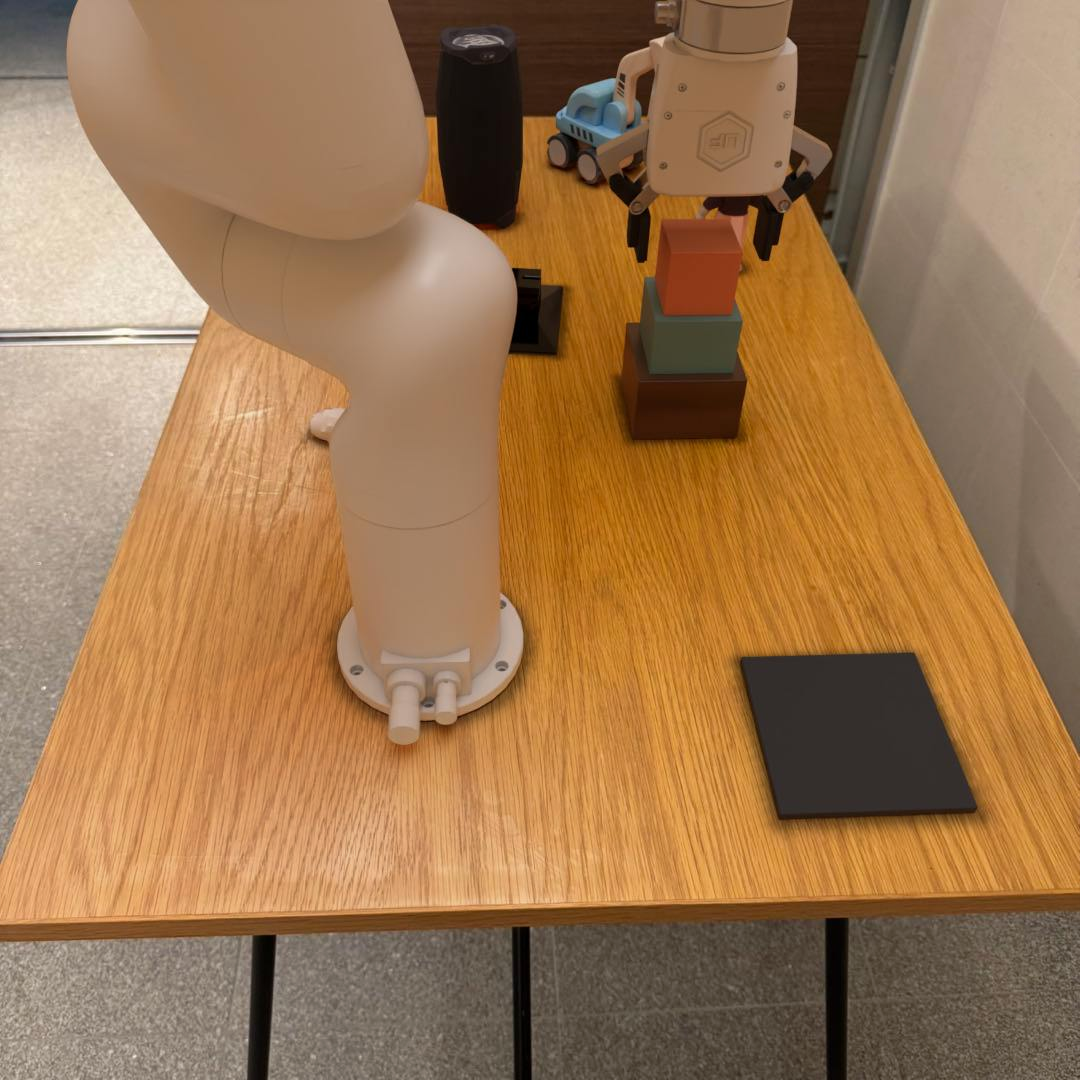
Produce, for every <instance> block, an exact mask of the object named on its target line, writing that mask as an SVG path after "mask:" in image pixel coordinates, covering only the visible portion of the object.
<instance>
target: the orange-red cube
mask: <svg viewBox="0 0 1080 1080" xmlns="http://www.w3.org/2000/svg"><path fill="white" fill-rule="evenodd" d="M659 230H660V231H659V237H658V246H657V255H656V262H655V263H656V264H655V273H654V277H655V284H656V288H657V292H658V296H659V300H660V303H661V307H662V311H663V315H664V316H703V315H732V311H733V306H734V300H736V293H737V287H738V284H739V283H738V282H739V277H740V272H741V271H740V265H742V258H743V254H744V253H743V249H741V247H740V244H739V242H738V239H737V237H736V234H735V232H734V229H733V227H732V224H731V222H730V219H714V218H705V219H695V218H667V219H666V218H665V219H664V218H663V219H661V220H660V227H659ZM739 271H740V272H739Z"/></svg>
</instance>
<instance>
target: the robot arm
mask: <svg viewBox="0 0 1080 1080" xmlns="http://www.w3.org/2000/svg"><path fill="white" fill-rule="evenodd" d="M793 2H794V0H666V1H665V0H663V1H662V0H660V1H655V3H654V14H653V15H654V24H656V25H657V24H658V25H659V24H665V26H666V27H671V30H672V31H673V32H670V33H668V34H666V35H665V36H666V37H665V40H664V43H663V46H662V49H661V53H660V56H659V60H658V64H657V68H656V72H655V71H654V77H653V82H652V88H651V93H650V99H649V106H648V110H647V117H646V121H645V122H644V123H643V124H641V125H639V126H637V127H635V128H633V129H632V130H630V131H628V132H626V133H624V134H622V135H620V136H618V137H616V138H614V139H612V140H610V141H608V142H606V143H604V144H602V145H600V146H599V147H597V149H596V156H597V161H598V163H599V166H600V168H601V170H602V172H603V174H604V176H605V180H606V182H607V184H608V186H609V189H610V191H611V192H612V193H613V194H614V195H615V196H616V197H617V198H618V200H620V201H621V202H622V203H623V204H624V205H625V206H626V207H627V208H628V213H627V224H626V225H627V227H626V245H627V249H628V248H631V249H632V248H633V250H634V254H635V259H636V263H637V264H644V263H645V262H648V255H649V244H650V234H651V224H652V215H651V212H650V209H649V207H650V206H651V205H652V204H653V202H655V201H656V199H657V198H658V197H659V196H660V195H661V196H665V197H675V198H678V197H679V198H681V197H682V198H699V197H701V198H707V197H718V196H758V195H763V197H762V199H760V202H759V208H758V209H757V215H756V220H755V225H754V232H753V238H752V245H753V247H754V250H755V252H756V254H757V257H758V259H759V260H761V262H769V261H770V260H771V255H772V249H773V246H778V245H779V243H780V237H781V233H782V227H783V222H784V217H785V214H786V213H788V212H789V211H790V210H791V209H792V208H793V204H794V202H796V201H797V200H798V199H800V198H801V197H802V196H803V195H805V194H806V193H807V192H808V191H809V190H811V189H812V188H813V186H814V185H815V180H816V179H817V177H819V176H820V175H821V173H822V172H823V171H824V169H825V168H826V167H827V165H828V164H829V162H830V161H831V160H832V158H833V152H832V150H831V148H830V147H829V144H827V143H826V142H824V141H822V140H820V139H819V138H817V137H815V135H812V134H810V133H809V132H807V131H805V130H803V129H801V128H800V127H798V126H796V125H794V123H795V115H796V114H795V112H796V102H797V88H798V46H797V45H796V44H795V43H794V42H793V41H792V40H791V39H790V38H789V37H788V31H789V26H790V20H791V12H792V9H793ZM65 54H66V55H65V56H66V72H67V80H68V84H69V91H70V95H71V99H72V102H73V105H74V108H75V112H76V115H77V117H78V120H79V123H80V125H81V127H82V129H83V132H84V134H85V136H86V138H87V140H88V142H89V144H90V145H91V147H92V149H93V150H94V152H95V154H96V155H97V157H98V159H99V160H100V162H101V163H102V164H103V166H104V167H105V169H106V170H107V172H108V173H109V175H110V177H111V178H112V180H113V181H114V182H115V183H116V184H117V186H118V188H119V189H120V190H121V192H122V193H123V194H124V196H125V197H126V199H127V200H128V202H129V203H130V204H131V206H132V207H133V208H134V210H135V211H136V213H137V214H138V216H140V218H141V220H142V221H143V223H144V224H145V225H146V226H147V228H148V229H149V231H150V232H151V233H152V235H153V236H154V238H155V239H156V240H157V241H158V243H159V245H160V246H161V247H162V249H163V250H164V251H165V253H166V254H167V256H168V257H169V258H170V259H171V261H172V263H173V264H174V265H175V266H176V267H177V269H178V271H179V272H180V273H181V275H182V276H183V277H184V278H185V280H186V281H187V282H188V284H189V285H190V287H191V288H192V289H193V290H194V291H195V292H196V294H197V295H198V296H199V298H201V299H202V301H204V303H205V304H206V305H207V306H208V307H209V308H210V309H211V310H213V312H214V313H216V315H218V316H219V317H220V318H221V319H223V320H224V321H226V322H227V323H228V324H230V325H231V326H233V327H235V328H237V329H239V330H240V331H242V332H244V333H245V334H247V335H249V336H251V337H254V338H256V339H258V340H259V341H262V342H264V343H266V344H268V345H271V347H272V346H273V347H275V348H277V349H279V350H281V351H283V352H285V353H287V354H289V355H292V356H294V357H296V358H298V359H301V360H302V361H305V362H306V363H307V364H309V365H311V366H313V367H315V368H317V369H319V370H321V371H323V372H326V373H327V374H329V375H330V376H332V377H334V378H336V379H337V380H338V381H339V382H340V383H341V384H342V386H344V387H345V389H346V391H347V392H348V395H349V398H350V405H349V404H348V405H349V406H348V405H347V406H348V408H347V407H346V408H345V411H344V412H343V413H342V414H341V416H340V417H339V419H338V420H337V422H336V423H335V426H334V428H333V430H332V433H331V438H330V443H328V458H329V469H330V476H331V481H332V487H333V492H334V497H335V502H336V503H335V504H336V509H337V514H338V515H337V516H338V521H339V527H340V532H341V539H342V545H343V552H344V557H345V563H346V569H347V575H348V580H349V581H348V583H349V587H350V594H351V601H352V606H351V607H350V609H349V610H348V612H347V614H346V615H345V617H344V618H343V620H342V623H341V625H340V627H339V631H338V634H337V639H336V651H337V660H338V664H339V667H340V672H341V675H342V677H343V679H344V680H345V683H346V684H347V685H348V687H349V688H350V689H351V691H352V692H353V693H354V694H355V695H356V696H357V697H358V699H360V700H361V701H363V702H364V703H366V705H369V706H370V707H371V708H373V709H375V710H377V711H379V712H382V713H384V714H386V715H388V723H387V738H388V740H389V741H390V742H392V743H393V744H396V745H399V746H401V745H403V746H407V745H411V744H414V743H416V742H417V741H419V738H420V736H421V721H435V722H436V723H437V724H439V725H443V726H448V725H453V724H455V722H457V719H458V717H459V716H463V715H466V714H468V713H470V712H473V711H475V710H477V709H479V708H481V707H482V706H485V705H486V704H488V703H489V702H491V701H492V700H494V699H496V697H497V696H498V695H500V694H501V693H502V692H503V691H504V690H505V689H506V688H507V687H508V685H510V682H512V680H513V679H514V678H515V677H516V674H517V672H518V669H519V667H520V665H521V661H522V657H523V652H524V631H523V630H524V629H523V624H522V621H521V618H520V616H519V613H518V611H517V609H516V608H515V606H514V605H513V604H512V602H511V601H510V599H509V598H508V597H507V596H506V595H505V594H503V593H502V591H501V551H500V550H501V549H500V547H501V546H500V540H501V539H500V537H501V536H500V471H499V424H500V423H499V422H500V421H499V420H500V408H501V407H500V406H501V395H502V391H503V390H502V388H503V381H504V378H505V377H504V376H505V370H506V366H507V361H508V356H509V353H508V352H509V348H510V343H511V339H512V334H513V329H514V324H515V318H516V310H517V287H516V281H515V277H514V274H513V271H512V267H511V264H510V262H509V261H508V259H507V258H508V257H506V255H505V254H504V252H503V251H502V249H501V248H500V247H499V246H498V245H497V243H495V242H494V240H492V239H491V238H490V236H488V235H487V234H486V233H484V231H482V230H481V229H479V228H478V227H476V226H475V225H474V224H470V223H468V222H466V221H464V220H463V219H461V218H459V217H457V216H455V215H454V214H451V213H449V212H448V210H444V209H442V208H440V207H437V206H434V205H432V204H429V203H426V202H423V201H421V200H419V199H420V196H421V195H422V192H423V189H424V187H425V184H426V180H427V176H428V170H429V163H430V162H429V161H430V139H429V132H428V125H427V122H426V115H425V111H424V105H423V101H422V98H421V94H420V90H419V87H418V83H417V81H416V78H415V75H414V72H413V69H412V66H411V64H410V63H411V62H410V60H409V57H408V54H407V51H406V49H405V46H404V43H403V39H402V37H401V34H400V31H399V29H398V25H397V22H396V19H395V17H394V14H393V11H392V9H391V6H390V3H389V0H77V2H76V3H75V6H74V9H73V11H72V14H71V17H70V21H69V26H68V32H67V39H66V53H65ZM641 150H643V165H644V166H645V167H644V168H643V169H642V170H641V171H640V172H639V173H638V174H637V175H636V176H635V177H634V178H633V180H632V179H631V178H630V177H629V176H628V175H627V174H626V173H625V172H624V171H623V170H622V168H620V166H619V163H620V161H621V160H623V159H625V158H627V157H629V156H631V155H633V154H635V153H637V152H639V151H641ZM791 150H792V151H794V152H796V153H798V154H799V155H801V156H803V157H804V158H803V160H802V161H801V164H800V165H799V166H797V167H796V168H795V169H793V170H792V171H791V172H790V173H789V174H788V170H789V169H788V168H789V165H790V158H791V157H790V156H791Z"/></svg>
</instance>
